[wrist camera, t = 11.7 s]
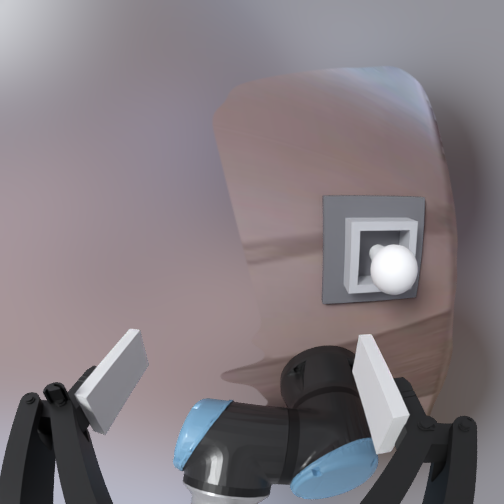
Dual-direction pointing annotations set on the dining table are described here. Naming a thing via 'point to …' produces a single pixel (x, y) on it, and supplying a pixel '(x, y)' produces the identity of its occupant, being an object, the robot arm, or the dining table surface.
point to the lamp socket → (366, 242)
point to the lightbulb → (393, 268)
